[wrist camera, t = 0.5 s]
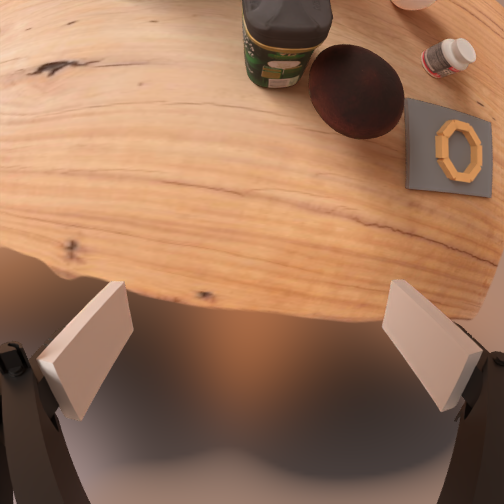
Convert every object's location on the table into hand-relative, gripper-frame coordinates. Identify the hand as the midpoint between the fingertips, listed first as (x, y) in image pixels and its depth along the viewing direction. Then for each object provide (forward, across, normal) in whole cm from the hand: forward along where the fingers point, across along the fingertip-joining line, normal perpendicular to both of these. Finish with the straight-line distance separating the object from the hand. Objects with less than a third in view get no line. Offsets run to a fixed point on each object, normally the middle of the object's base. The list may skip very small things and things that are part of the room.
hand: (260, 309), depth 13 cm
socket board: (+27, +33, +12) cm, 44 cm away
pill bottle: (+28, +30, +27) cm, 49 cm away
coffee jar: (+28, +3, +22) cm, 36 cm away
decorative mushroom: (+28, +11, +15) cm, 33 cm away
